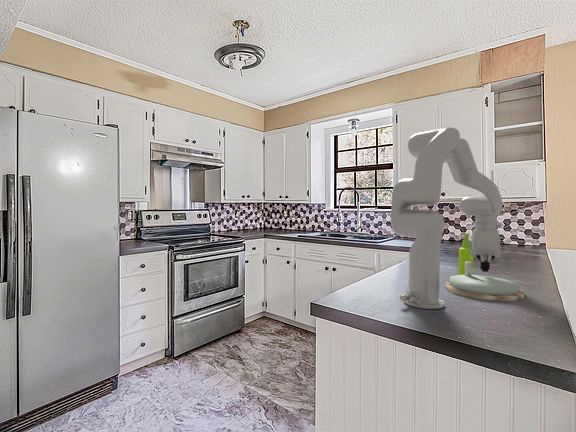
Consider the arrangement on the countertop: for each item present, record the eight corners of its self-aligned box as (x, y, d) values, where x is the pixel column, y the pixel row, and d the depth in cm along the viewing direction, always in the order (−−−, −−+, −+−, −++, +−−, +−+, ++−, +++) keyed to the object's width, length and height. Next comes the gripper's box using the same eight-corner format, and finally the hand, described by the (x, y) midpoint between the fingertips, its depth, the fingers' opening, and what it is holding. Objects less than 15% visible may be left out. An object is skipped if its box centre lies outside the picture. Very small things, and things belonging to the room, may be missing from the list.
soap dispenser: (468, 274, 153) (469, 232, 152) (475, 278, 146) (476, 234, 145) (455, 274, 154) (456, 232, 153) (461, 277, 147) (462, 233, 146)
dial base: (501, 306, 107) (502, 300, 107) (431, 288, 129) (431, 283, 129) (537, 294, 120) (537, 290, 120) (468, 280, 143) (468, 276, 143)
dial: (535, 295, 113) (536, 273, 113) (470, 295, 113) (471, 273, 113) (492, 279, 136) (493, 261, 136) (438, 279, 136) (439, 261, 136)
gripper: (504, 226, 133) (503, 270, 134) (463, 225, 138) (462, 268, 139) (510, 227, 126) (508, 274, 127) (467, 227, 131) (466, 272, 132)
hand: (484, 271), depth 133 cm, fingers closed
